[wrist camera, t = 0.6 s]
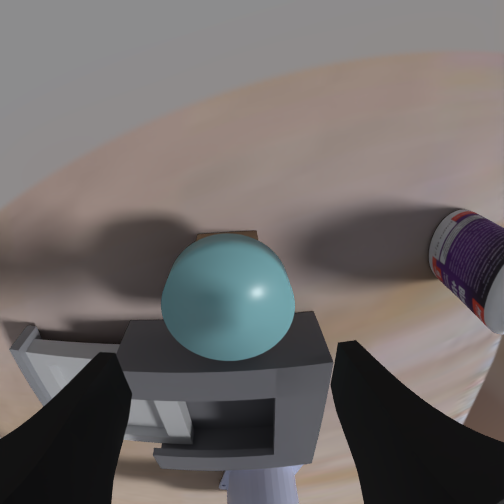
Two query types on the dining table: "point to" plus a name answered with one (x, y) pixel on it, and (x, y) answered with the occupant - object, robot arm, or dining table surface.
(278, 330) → the teal rounded dome
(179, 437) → the tray
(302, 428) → the grey drawer housing
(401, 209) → the dining table surface
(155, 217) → the dining table surface
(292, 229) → the dining table surface
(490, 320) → the pill bottle
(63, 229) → the dining table surface
